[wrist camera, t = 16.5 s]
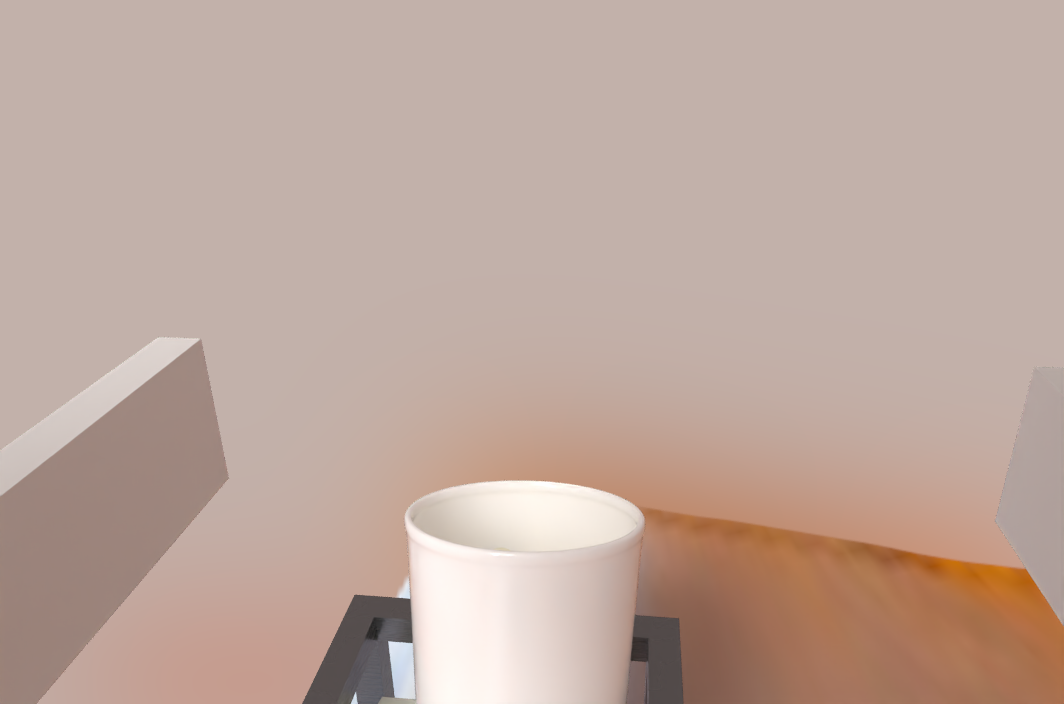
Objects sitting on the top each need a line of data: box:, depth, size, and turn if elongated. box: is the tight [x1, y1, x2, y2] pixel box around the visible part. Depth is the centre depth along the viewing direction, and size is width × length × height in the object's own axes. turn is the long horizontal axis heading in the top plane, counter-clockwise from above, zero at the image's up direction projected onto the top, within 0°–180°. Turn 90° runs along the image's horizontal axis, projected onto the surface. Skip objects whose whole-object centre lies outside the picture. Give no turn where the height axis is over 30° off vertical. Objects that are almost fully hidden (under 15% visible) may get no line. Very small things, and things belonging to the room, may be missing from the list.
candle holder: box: [404, 481, 645, 704], centre depth 34 cm, size 10×10×12 cm
